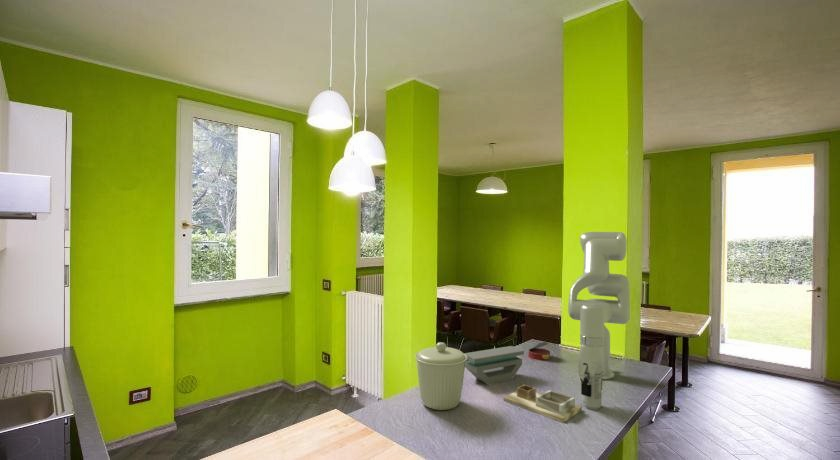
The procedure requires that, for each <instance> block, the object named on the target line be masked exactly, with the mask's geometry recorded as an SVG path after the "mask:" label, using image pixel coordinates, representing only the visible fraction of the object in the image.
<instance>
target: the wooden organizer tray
mask: <svg viewBox="0 0 840 460" xmlns="http://www.w3.org/2000/svg"><path fill="white" fill-rule="evenodd" d="M503 401H504V402H506V403H509V404H512V405H514V406H517V407H519V406H520V408H522V409H525V410H527V411H530V412H533V413H536V414H539V415H541V416H544V417H547V418H549V419H552V420H554V421H557V422H560V423H562V424H563V423H564V422H566V421H568V420H569V419H571V418H572V417H574V416H575V415H577V414H578V413H580V412H581V411H582V410H583V409H582V406H581V405H577V404H575V403H576V398H575V397H572V396H570V395H567V394H563V393H560V392H557V391H554V390H551V389H549V390H546V391H545V392H543V393H541V392H539V391H537V388H536V387H533V386H530V385H527V384H522V385H519V386H518V387H516V391H514V392H512V393H510V394H507V395H506V396H503Z"/></svg>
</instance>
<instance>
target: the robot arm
mask: <svg viewBox="0 0 840 460" xmlns="http://www.w3.org/2000/svg"><path fill="white" fill-rule="evenodd" d="M579 242H580V243H579V244H580V247H581V250H582V252H583V269H582V275H580V276H579V277H578V278H577V279H576V280H575V281H574V282H573V283H572V286H571V287H570V290H569V293H568V302H567V303H568V304H567V311H568V316H569V318H571V319H572V320H574V321H579V324H580V326H579V327H580V329H579V333H580V335H579V343H580V346H579V354H578V364H577V365H578V366H577V369H578V371H577V373H578V376H579V380H580V385H581V386H580V388H581V391H580V392H581V393H580V394H581V395H585V396H588V397H591V385H590V383H591V379H592V377H593V376H595V374H596V370H597V368H598V366H600V367H601V368H602V380H611V379H614V378H615V373H614V371H612V370H611V366H612V365H613V364H612V362H611V333H610V331H609V329H608V328H607V326H606V325H605V324H615V325H616V324H617V325H626V324H627V323H629V320H630V316H631V315H630V314H631V312H630V311H631V307H630V305H631V304H630V303H631V301H630V299H631V298H630V295H631V294H630V282H629V278H628V277H627V276H626V275H624V274H619V273H610V261H614V262H615V261H616V262H619V261H624V260H625V259H626V256H627V249H628V248H627V247H628V245H627V244H628V243H627V237H626V235H625V233H624V232H621V231H587V232H583V233H582V234H581V235H580V237H579ZM586 288H587V291H588V293H589V294H590V295H593V296H597V297H598V296H599V297H600V296H601V297H612V298H616V299H606V298H605V299H604V298H589V299H581V298H579V299H578V295H579V293H580V292H581V291H582V290H585V289H586ZM585 373H590V375H588V374H585ZM585 376H586V377H589V378H588V380H587V378H585Z"/></svg>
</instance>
